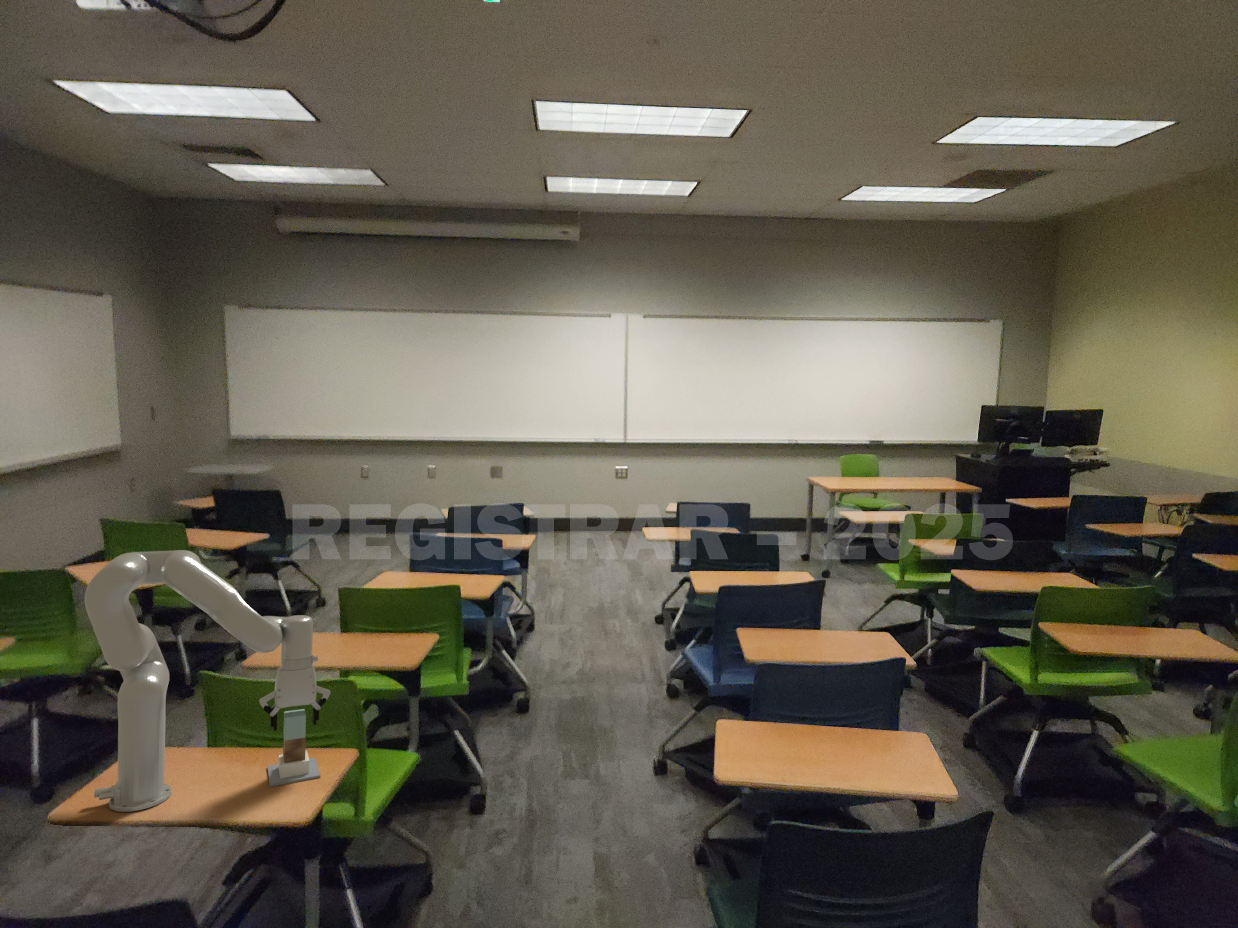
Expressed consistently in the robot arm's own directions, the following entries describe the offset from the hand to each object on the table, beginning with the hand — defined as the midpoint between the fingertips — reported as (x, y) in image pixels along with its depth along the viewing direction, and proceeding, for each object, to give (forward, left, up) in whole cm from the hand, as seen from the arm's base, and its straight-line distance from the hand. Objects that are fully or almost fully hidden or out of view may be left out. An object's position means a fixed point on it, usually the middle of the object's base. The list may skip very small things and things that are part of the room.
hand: (294, 726), depth 186 cm
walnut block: (0, 0, -8) cm, 8 cm away
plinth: (0, 0, -12) cm, 12 cm away
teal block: (0, 0, -2) cm, 3 cm away
